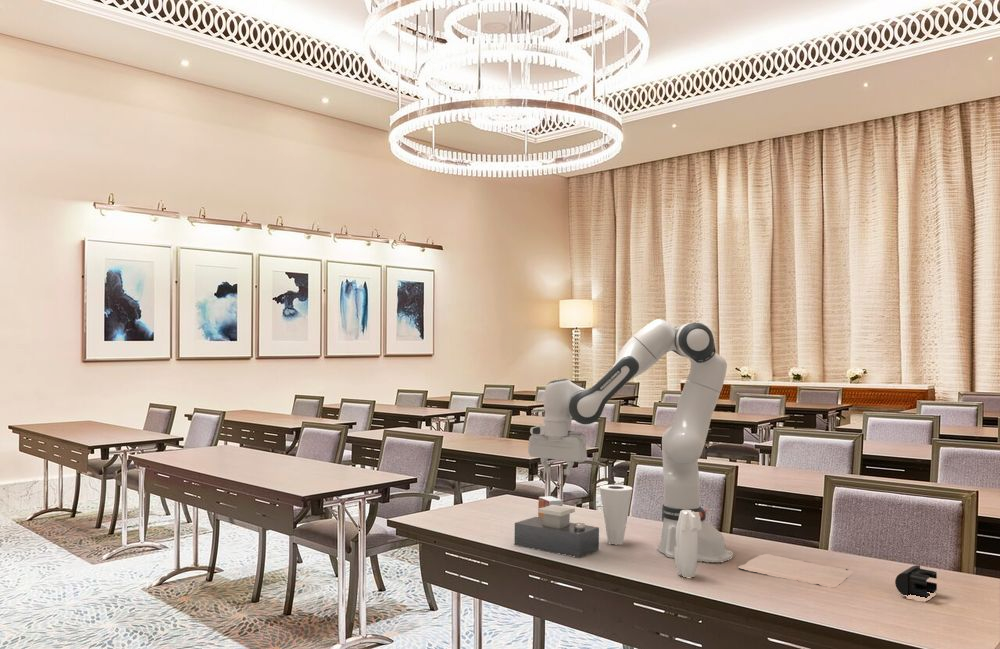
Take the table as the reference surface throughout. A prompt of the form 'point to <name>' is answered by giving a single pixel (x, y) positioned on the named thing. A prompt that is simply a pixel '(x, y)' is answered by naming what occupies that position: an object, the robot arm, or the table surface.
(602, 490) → the cup
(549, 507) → the push button
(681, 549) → the white spray bottle
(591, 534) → the console
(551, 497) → the small box
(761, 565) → the table surface
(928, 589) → the end cap
